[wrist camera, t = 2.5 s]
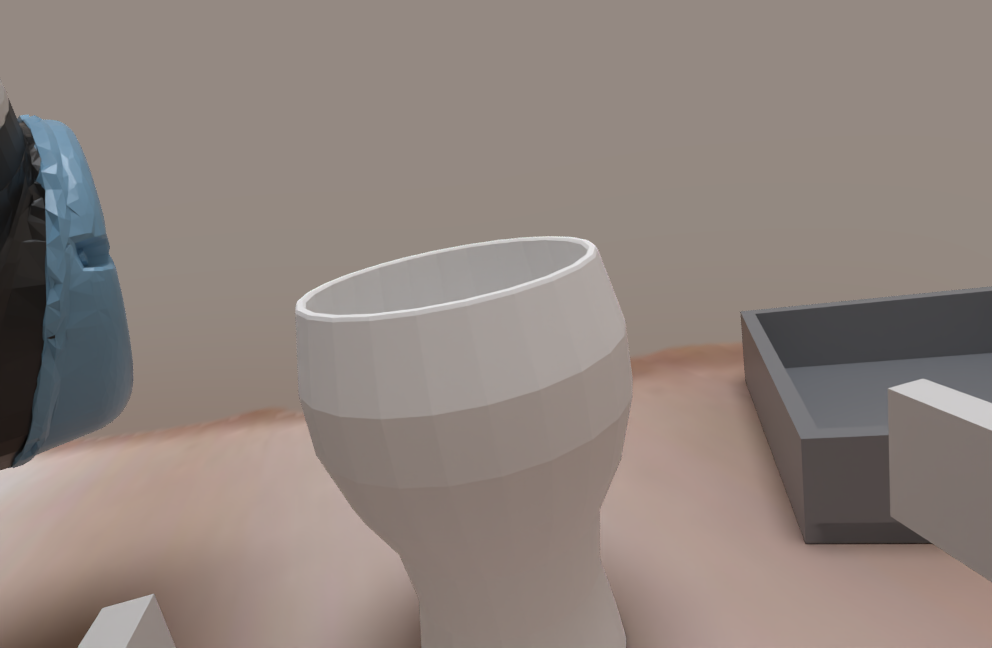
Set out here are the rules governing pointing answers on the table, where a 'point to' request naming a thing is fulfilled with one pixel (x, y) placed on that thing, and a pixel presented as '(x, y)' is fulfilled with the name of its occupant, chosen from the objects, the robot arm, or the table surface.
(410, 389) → the white ceramic vase
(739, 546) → the table surface
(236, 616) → the table surface
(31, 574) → the table surface
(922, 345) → the bin
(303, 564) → the table surface
